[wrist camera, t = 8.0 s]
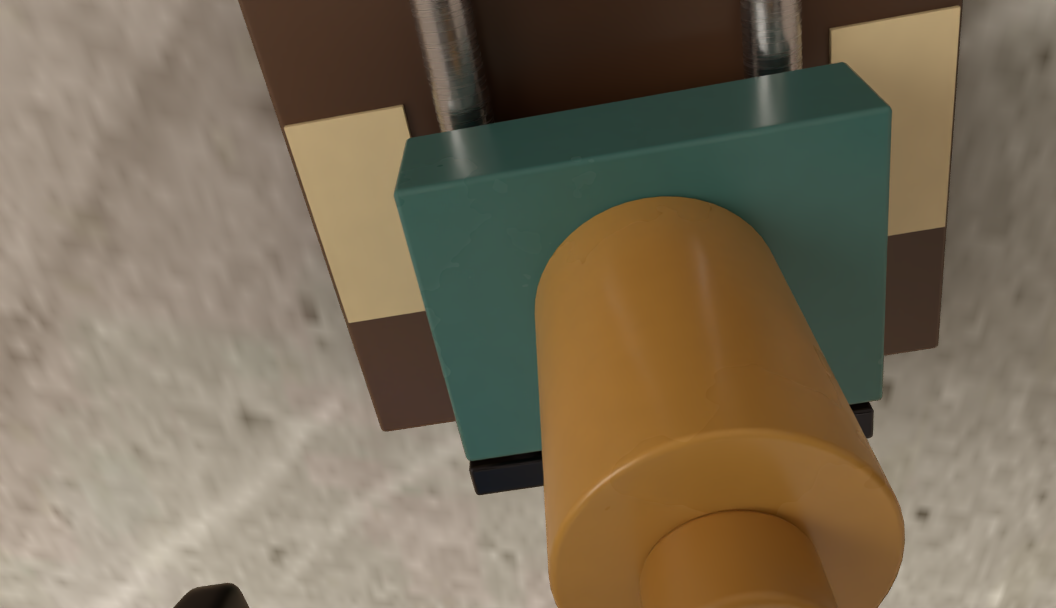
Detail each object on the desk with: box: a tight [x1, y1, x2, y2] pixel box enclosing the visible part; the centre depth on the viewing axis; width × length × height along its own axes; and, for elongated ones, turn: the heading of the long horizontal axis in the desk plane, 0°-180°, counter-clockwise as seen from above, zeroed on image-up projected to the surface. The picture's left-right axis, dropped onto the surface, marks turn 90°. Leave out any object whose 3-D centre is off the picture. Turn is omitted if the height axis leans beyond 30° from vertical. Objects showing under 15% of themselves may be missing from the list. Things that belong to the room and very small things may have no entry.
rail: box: [238, 0, 963, 495], centre depth 12 cm, size 10×14×3 cm
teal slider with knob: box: [394, 62, 905, 608], centre depth 11 cm, size 6×4×7 cm
